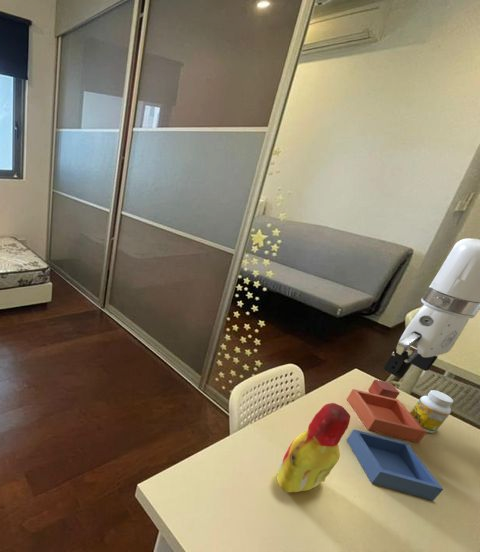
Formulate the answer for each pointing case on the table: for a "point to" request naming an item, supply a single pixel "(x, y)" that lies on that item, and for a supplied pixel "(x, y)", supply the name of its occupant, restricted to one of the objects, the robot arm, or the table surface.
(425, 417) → the supplement bottle
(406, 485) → the blue bin
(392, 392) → the red block
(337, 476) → the table surface
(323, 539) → the table surface
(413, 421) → the terracotta bin
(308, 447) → the bottle
